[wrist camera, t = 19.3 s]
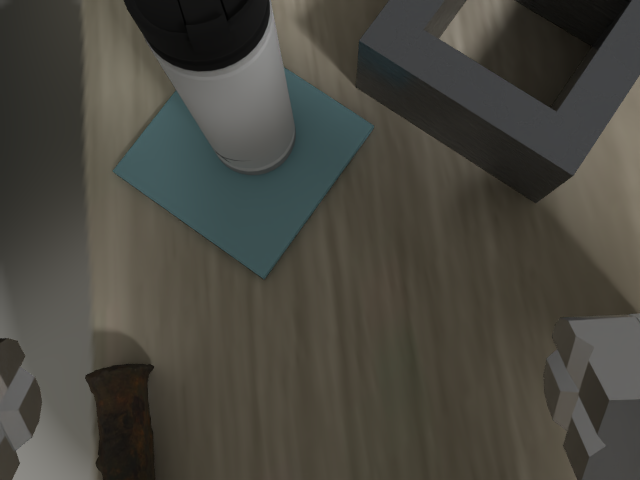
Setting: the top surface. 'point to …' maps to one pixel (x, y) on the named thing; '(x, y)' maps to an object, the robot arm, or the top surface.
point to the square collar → (502, 87)
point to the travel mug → (225, 75)
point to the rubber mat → (245, 190)
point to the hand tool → (123, 422)
